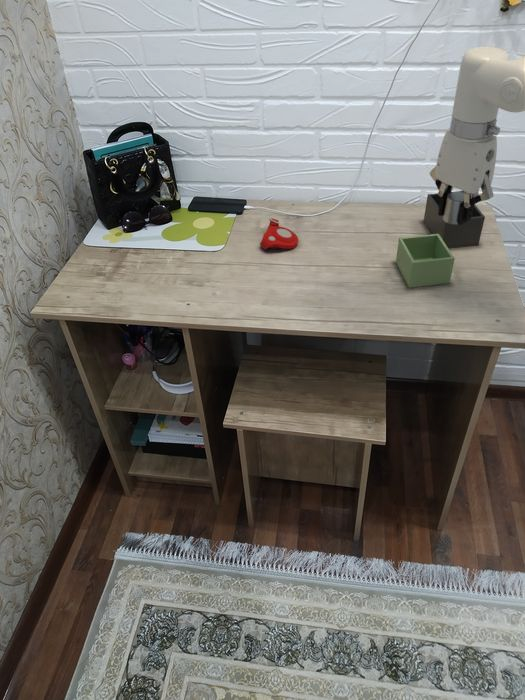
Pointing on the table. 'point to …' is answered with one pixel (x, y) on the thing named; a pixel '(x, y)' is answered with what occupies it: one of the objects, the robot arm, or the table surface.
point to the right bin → (453, 225)
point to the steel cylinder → (453, 207)
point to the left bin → (424, 260)
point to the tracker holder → (278, 236)
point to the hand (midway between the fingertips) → (453, 217)
